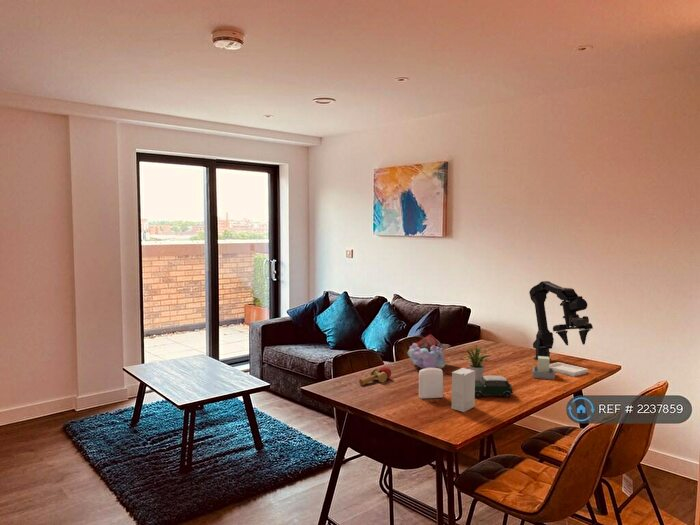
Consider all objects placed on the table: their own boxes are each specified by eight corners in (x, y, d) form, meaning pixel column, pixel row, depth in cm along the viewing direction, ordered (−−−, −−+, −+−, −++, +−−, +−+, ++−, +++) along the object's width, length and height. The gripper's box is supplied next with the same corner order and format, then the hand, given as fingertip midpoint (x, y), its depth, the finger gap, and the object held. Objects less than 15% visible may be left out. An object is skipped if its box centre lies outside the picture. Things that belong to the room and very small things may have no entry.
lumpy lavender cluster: (407, 363, 247) (426, 332, 247) (397, 351, 268) (415, 323, 268) (441, 383, 250) (460, 352, 250) (429, 370, 272) (446, 341, 271)
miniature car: (466, 391, 219) (467, 373, 218) (508, 392, 218) (509, 374, 218) (470, 398, 210) (471, 379, 209) (514, 399, 209) (515, 380, 209)
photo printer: (419, 399, 208) (420, 369, 207) (417, 396, 212) (417, 366, 212) (444, 398, 209) (444, 369, 208) (441, 395, 213) (441, 366, 213)
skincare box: (461, 404, 202) (462, 367, 201) (475, 407, 198) (476, 370, 197) (450, 409, 196) (451, 371, 195) (464, 412, 192) (464, 374, 191)
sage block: (537, 374, 246) (538, 356, 245) (548, 375, 244) (549, 356, 244) (537, 377, 241) (538, 358, 241) (549, 378, 240) (549, 359, 239)
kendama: (369, 390, 224) (396, 377, 236) (365, 376, 224) (393, 364, 236) (357, 389, 230) (385, 376, 242) (354, 376, 230) (382, 363, 242)
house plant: (473, 385, 227) (474, 349, 226) (453, 378, 239) (454, 343, 238) (497, 381, 233) (498, 346, 232) (476, 374, 246) (477, 340, 245)
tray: (544, 369, 255) (544, 365, 255) (558, 366, 262) (558, 362, 261) (573, 376, 242) (574, 372, 241) (587, 372, 248) (588, 368, 248)
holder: (532, 372, 249) (532, 366, 249) (553, 374, 246) (553, 368, 246) (532, 377, 240) (532, 371, 240) (554, 379, 237) (554, 373, 236)
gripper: (563, 311, 242) (569, 344, 238) (597, 310, 246) (603, 342, 242) (549, 315, 252) (555, 346, 249) (582, 313, 256) (588, 344, 253)
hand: (575, 344), depth 248 cm, fingers open, 9 cm apart
